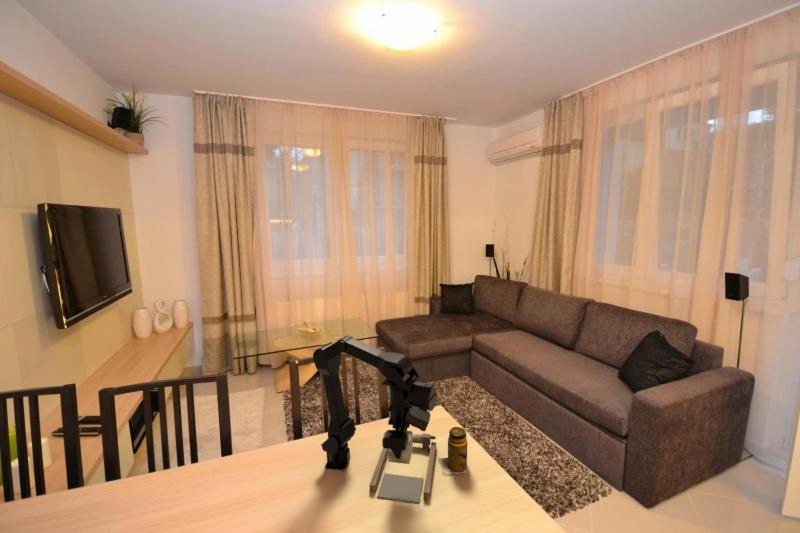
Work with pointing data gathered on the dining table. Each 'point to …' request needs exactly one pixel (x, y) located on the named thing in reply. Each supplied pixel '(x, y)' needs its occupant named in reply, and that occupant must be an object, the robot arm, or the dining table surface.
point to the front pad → (401, 488)
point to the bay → (425, 442)
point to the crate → (403, 451)
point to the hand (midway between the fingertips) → (400, 450)
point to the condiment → (456, 453)
